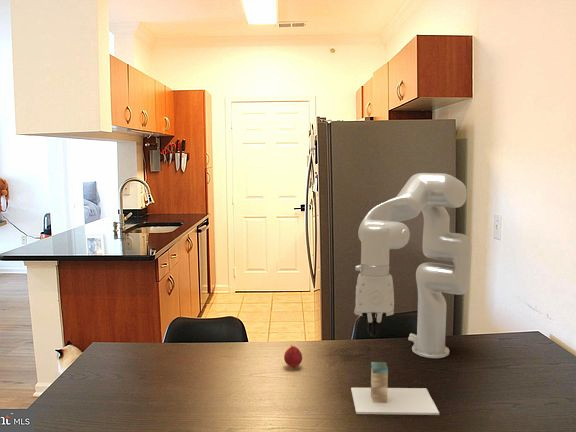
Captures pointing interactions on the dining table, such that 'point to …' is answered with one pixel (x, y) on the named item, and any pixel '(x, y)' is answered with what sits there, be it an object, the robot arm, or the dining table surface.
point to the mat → (395, 402)
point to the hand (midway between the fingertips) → (373, 335)
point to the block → (379, 382)
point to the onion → (293, 356)
